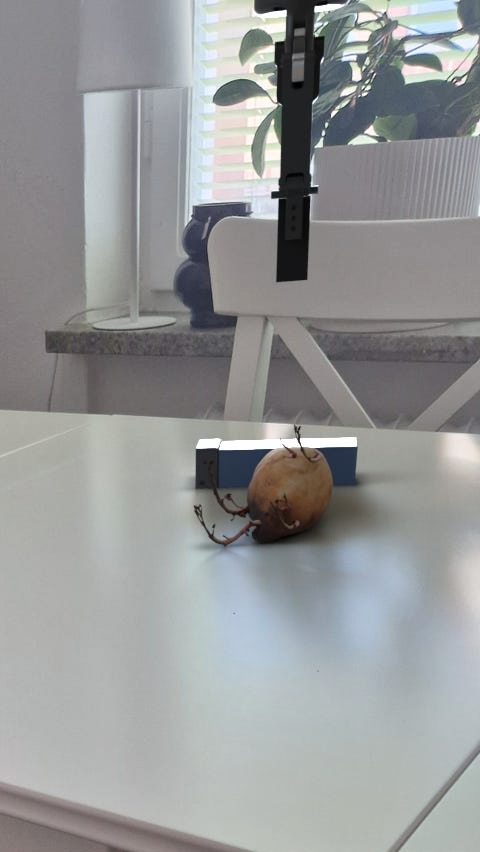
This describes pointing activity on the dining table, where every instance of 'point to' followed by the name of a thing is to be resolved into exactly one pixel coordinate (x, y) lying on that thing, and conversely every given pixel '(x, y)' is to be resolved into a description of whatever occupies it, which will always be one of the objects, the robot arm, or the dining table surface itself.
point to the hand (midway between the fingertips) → (291, 280)
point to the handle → (244, 456)
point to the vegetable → (280, 493)
